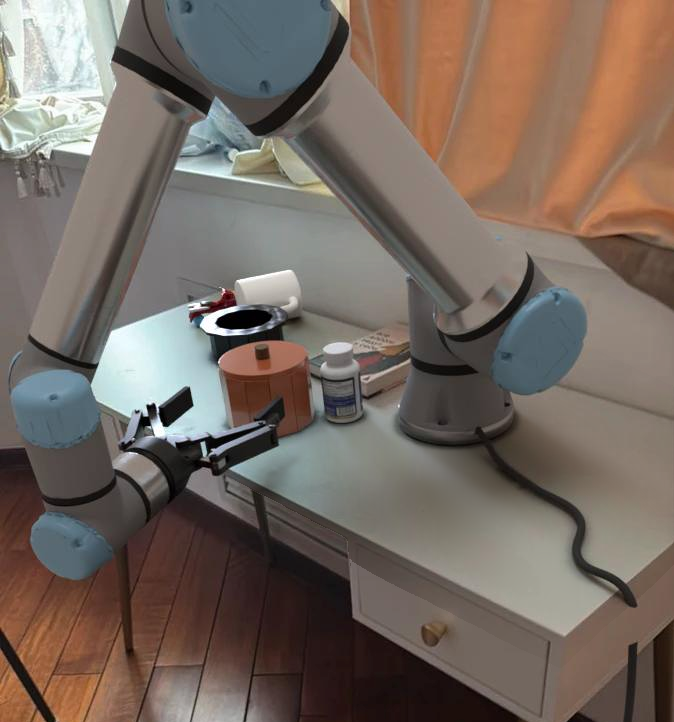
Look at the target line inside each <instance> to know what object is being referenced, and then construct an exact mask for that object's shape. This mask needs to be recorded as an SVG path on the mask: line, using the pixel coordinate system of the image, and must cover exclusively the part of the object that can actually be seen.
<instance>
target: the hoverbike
mask: <svg viewBox="0 0 674 722" xmlns="http://www.w3.org/2000/svg"><path fill="white" fill-rule="evenodd" d="M218 289H219V290H222V291H221V292H222V294H221V298H220V299H219V300H217V301H211V300H202V301H200V302H198V303H192V304H188V305H187V308H188V311H189V312H188V319H189V323H190V324H192V323H194V325H195V326H197V327H200V324H201V323H202V321H203V319H204V318H205V316H204V315H205V314H206V315H207V314H213V313H215V312H217V311H219V310H222V309H227V308H231V307H235V306H237V303H236V298H235V291H233V290H230V289H225V288H223V287H220V286H219V287H218Z"/></svg>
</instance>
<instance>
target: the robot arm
mask: <svg viewBox="0 0 674 722" xmlns="http://www.w3.org/2000/svg"><path fill="white" fill-rule="evenodd" d="M351 49H352V27H351V25H350V23H349V22H348V20H346V18H345V17H344V16H343V14H342V13H341V12H340V11H339V9H338V8H337V7H336V5H335V4H334V3H333V1H332V0H129V1H128V4H127V7H126V10H125V15H124V18H123V21H122V24H121V28H120V31H119V35H118V39H117V42H116V45H115V48H114V51H113V53H112V58H111V59H110V63H109V67H110V69H111V72H112V75H113V77H114V82H115V85H114V87H113V90H112V93H111V96H110V99H109V101H108V104H107V107H106V111H105V113H104V116H103V119H102V122H101V124H100V128H99V130H98V133H97V136H96V138H95V142H94V144H93V147H92V150H91V154H90V156H89V159H88V162H87V165H86V167H85V170H84V174H83V176H82V179H81V181H80V185H79V186H78V187H79V188H78V190H77V193H76V196H75V199H74V202H73V205H72V209H71V210H70V213H69V216H68V219H67V222H66V225H65V228H64V230H63V233H62V236H61V239H60V242H59V245H58V247H57V250H56V253H55V256H54V259H53V262H52V265H51V268H50V271H49V273H48V277H47V279H46V282H45V285H44V288H43V290H42V294H41V297H40V299H39V303H38V305H37V308H36V311H35V313H34V316H33V320H32V323H31V325H30V328H29V330H28V331H29V332H28V335H27V337H26V340H25V343H24V345H23V348H22V349H20V350H19V351H18V352H17V353H16V354H15V355H14V356H13V358H12V360H11V361H10V364H9V368H8V375H7V384H8V392H9V396H10V405H11V408H12V411H13V418H14V421H15V425H16V426H15V428H17V432H18V433H19V435H20V437H21V440H22V443H23V445H24V448H25V449H24V450H25V451H26V454H27V457H28V460H29V463H30V466H31V468H32V471H33V473H34V476H35V479H36V482H37V485H38V487H39V492H40V496H41V501H42V503H43V506H44V509H45V512H44V513H43V514H41V515H39V517H38V520H36V521H35V522H34V524H33V525H32V526H31V532H30V537H29V541H30V546H31V548H32V551H33V553H34V554H35V556H36V558H37V559H38V560H39V562H40V563H41V564H42V565H43V566H44V567H45V568H46V569H47V570H49V571H50V572H52V573H53V574H55V575H56V576H58V577H61V578H63V579H67V580H68V579H69V580H72V581H81V580H84V579H87V578H89V577H91V576H92V575H94V573H95V572H97V571H98V570H100V569H101V568H102V567H103V566H104V565H106V564H108V563H109V562H111V561H112V560H113V559H114V557H115V556H116V555H117V554H118V553H119V552H120V551H121V550H122V549H123V548H124V546H125V545H127V543H128V542H130V541H131V539H132V538H134V537H135V536H136V535H137V534H138V532H140V531H141V530H142V529H143V528H144V527H145V526H147V524H148V523H149V522H150V521H152V520H153V518H155V517H156V516H157V515H158V514H159V513H160V512H161V511H162V510H163V509H164V508H165V507H166V506H167V505H169V504H170V503H171V502H172V501H174V500H175V498H177V497H178V496H179V495H180V494H181V493H182V492H183V491H184V490H185V489H186V487H187V486H188V483H189V480H190V478H191V477H192V474H193V473H196V472H197V471H199V470H201V469H210V471H211V476H213V477H220V476H221V475H223V474H224V473H226V472H227V471H228V470H229V469H231V468H234V467H235V466H237V465H240V464H242V463H244V462H247V461H249V460H251V459H253V458H255V457H257V456H260V455H263V454H265V453H266V452H268V451H272V450H273V449H275V448H277V447H279V446H280V441H279V437H278V433H277V428H278V427H279V425H280V423H279V422H280V421H281V420H282V419H283V418H284V417H285V410H284V402H283V396H277V397H276V398H275V399H274V400H272V401H271V402H270V403H269V404H268V405H267V406H266V407H265V408H264V409H263V410H262V411H261V412H260V413H259V414H257V415H256V416H255V417H254V423H250V424H247V425H243V426H240V427H237V428H233V429H231V428H230V429H227V430H223V431H220V432H216V433H212V434H211V433H209V432H207V431H206V432H202V433H198V434H195V435H182V434H179V433H173V434H168V435H166V431H165V429H164V428H169V427H170V426H171V425H172V424H174V423H175V422H176V421H177V420H179V419H180V418H182V417H183V416H184V415H185V414H186V413H187V412H189V411H190V410H191V409H192V408H193V407H195V405H194V401H193V394H192V390H191V386H188V385H187V386H184V387H182V388H181V389H180V390H178V391H177V392H176V393H175V394H173V395H172V396H171V397H169V398H168V399H167V400H165V401H163V402H162V403H160V404H159V405H158V406H157V404H156V402H148V403H146V404H145V407H146V411H143V410H142V409H141V408H135V409H133V410H132V412H131V415H130V418H129V422H128V425H127V428H126V430H125V433H124V436H123V437H122V438H121V439H120V440H119V441H118V442H117V447H118V450H119V454H117V455H116V456H115V457H114V458H112V457H111V454H110V453H111V452H110V450H109V449H110V448H109V445H108V441H107V436H106V434H105V429H104V426H103V422H102V418H101V414H102V413H101V407H100V406H99V404H98V401H97V397H96V396H95V395H94V392H93V389H92V386H91V385H92V384H93V381H94V378H95V375H96V373H97V370H98V368H99V365H100V361H101V359H102V356H103V354H104V351H105V349H106V346H107V343H108V341H109V338H110V336H111V333H112V331H113V328H114V326H115V323H116V320H117V317H118V315H119V313H120V310H121V307H122V305H123V302H124V300H125V297H126V295H127V292H128V289H129V287H130V284H131V282H132V279H133V277H134V275H135V272H136V269H137V267H138V264H139V261H140V259H141V256H142V253H143V251H144V249H145V246H146V244H147V241H148V239H149V235H150V233H151V231H152V228H153V226H154V222H155V220H156V218H157V215H158V213H159V210H160V208H161V205H162V202H163V200H164V197H165V196H166V192H167V190H168V187H169V184H170V182H171V180H172V177H173V174H174V172H175V169H176V167H177V165H178V162H179V159H180V156H181V155H182V151H183V150H184V146H185V144H186V142H187V139H188V136H189V134H190V131H191V128H192V127H193V126H195V125H196V124H200V123H201V122H203V121H206V120H207V118H208V116H209V113H210V110H211V107H212V105H213V103H214V101H215V98H217V100H219V101H220V102H221V103H222V104H223V105H224V106H225V108H227V109H228V111H230V112H231V114H233V115H234V117H235V118H236V119H237V120H238V121H239V122H240V123H241V124H242V125H243V126H244V127H245V128H246V129H247V130H248V131H249V132H250V133H251V135H252V136H254V137H255V138H256V139H259V140H269V139H270V140H271V139H281V140H282V141H283V143H285V144H286V146H287V147H289V148H290V149H291V150H292V151H293V153H295V155H296V156H297V157H298V158H299V159H300V160H301V161H302V163H303V164H305V166H306V167H307V168H308V169H309V170H310V171H311V172H312V173H313V174H314V175H315V177H317V178H318V179H319V181H320V182H322V184H323V185H324V186H325V187H326V188H327V189H328V190H329V191H330V193H332V194H333V196H334V197H335V198H336V199H337V200H338V201H339V202H340V203H341V204H342V205H343V206H344V207H345V209H346V210H347V211H348V212H349V213H350V214H351V215H352V216H353V217H354V218H355V219H356V220H357V221H358V223H359V224H360V225H362V227H363V228H364V229H365V230H366V231H367V232H368V233H369V234H370V235H371V236H372V237H373V238H374V240H376V241H377V242H378V244H379V245H380V246H381V247H382V248H383V249H384V250H385V251H386V252H387V253H388V254H389V256H391V257H392V259H393V260H394V261H395V262H396V263H397V264H398V265H399V267H401V268H402V269H403V271H404V272H405V273H406V276H405V282H406V285H407V286H406V287H407V313H408V334H409V335H408V336H409V357H410V360H409V361H410V362H409V363H410V364H409V365H410V366H409V371H408V374H407V378H406V381H405V385H404V387H403V391H402V395H401V399H400V402H399V404H398V408H397V409H398V424H399V427H400V429H401V430H402V431H403V432H404V433H405V434H407V435H408V436H410V437H412V438H414V439H417V440H418V441H422V442H426V443H430V444H436V445H446V446H447V445H448V446H449V445H450V446H454V445H468V444H469V445H470V444H475V443H476V444H477V443H479V442H482V444H483V445H484V447H485V448H486V451H487V452H488V454H489V456H490V457H491V458H492V460H493V461H494V462H495V463H496V464H497V466H498V467H499V468H500V469H502V471H504V472H505V474H507V475H509V476H510V477H512V478H513V479H514V480H516V481H517V482H519V483H520V484H521V485H523V486H524V487H526V488H527V489H529V490H530V491H532V492H533V493H535V494H537V495H538V496H541V497H542V498H544V499H547V500H549V501H550V502H552V503H555V504H556V505H559V506H560V507H562V508H563V509H565V510H566V511H568V513H570V514H571V515H572V516H573V517H574V519H575V521H576V524H577V525H576V526H577V529H576V532H575V535H574V538H573V541H572V546H571V554H572V557H573V559H574V561H575V563H576V564H577V566H578V567H579V568H580V569H581V570H583V571H584V572H586V573H588V574H590V575H592V576H594V577H597V578H600V579H602V580H604V581H606V582H608V583H610V584H611V585H613V586H614V587H615V588H617V590H618V591H620V592H621V594H622V596H623V598H624V600H625V602H626V604H627V605H628V607H630V608H633V609H636V608H637V607H638V606H639V605H638V603H637V599H636V597H635V595H634V593H633V591H632V590H631V589H630V587H629V585H628V584H627V583H626V582H625V581H623V580H622V579H621V578H620V577H619V576H618V575H616V574H615V573H611V572H610V571H608V570H605V569H602V568H600V567H597V566H595V565H592V564H591V563H590V562H588V561H587V560H586V559H584V557H583V555H582V551H581V546H582V542H583V538H584V535H585V532H586V520H585V517H584V515H583V514H582V512H581V511H580V510H579V508H577V507H576V506H575V505H574V504H573V503H572V502H570V501H569V500H567V499H565V498H563V497H561V496H559V495H557V494H555V493H553V492H551V491H550V490H547V489H545V488H543V487H541V486H539V484H536V483H535V482H534V481H532V480H530V479H529V478H527V477H526V476H524V475H523V474H521V473H520V472H518V471H517V470H515V469H514V468H513V467H512V466H510V465H509V464H508V463H507V462H505V460H504V459H503V458H502V457H501V456H500V455H499V454H498V452H497V451H496V449H495V447H494V445H493V443H492V441H490V439H494V438H495V437H497V436H500V435H501V434H503V433H504V432H505V431H507V430H508V429H509V428H510V427H511V426H512V424H513V421H514V408H515V407H514V406H515V403H514V400H513V398H512V394H514V395H518V396H524V397H525V396H526V397H527V396H532V395H535V394H537V393H538V394H540V393H544V392H545V391H548V390H549V389H551V388H552V387H554V386H555V385H557V384H558V383H559V382H560V381H562V380H563V379H564V377H566V376H567V374H568V373H569V372H570V371H571V369H572V368H573V367H574V366H575V364H576V362H577V361H578V359H579V357H580V355H581V353H582V351H583V348H584V345H585V344H584V340H585V337H586V336H587V333H588V315H587V311H586V308H585V306H584V304H583V302H582V300H580V298H579V297H578V296H576V295H575V294H574V293H573V292H572V291H571V290H569V289H568V288H567V287H565V286H557V285H556V284H554V283H553V282H552V281H551V280H550V279H549V278H548V277H547V276H546V275H545V273H544V272H543V271H542V270H541V268H540V267H539V265H538V264H537V263H536V262H535V261H534V259H533V258H532V257H531V256H530V254H529V253H528V252H527V250H526V249H525V247H523V245H521V243H519V242H518V241H515V240H513V239H503V238H502V237H500V236H497V235H494V234H493V233H492V232H491V231H490V230H489V228H488V227H487V226H486V225H485V223H484V222H483V221H482V220H481V218H480V217H479V216H478V214H477V213H476V212H475V211H474V210H473V208H472V207H471V206H470V205H469V204H468V202H467V201H466V200H465V199H464V197H463V196H462V195H461V193H460V192H459V190H457V188H456V187H455V185H453V183H452V182H451V181H450V180H449V178H448V176H446V175H445V174H444V172H443V171H442V170H441V168H440V167H439V166H438V165H437V164H436V163H435V161H434V160H433V159H432V157H431V156H430V155H429V154H428V152H427V151H426V150H425V149H424V147H423V145H421V144H420V141H418V139H416V137H415V136H414V135H413V134H412V133H411V131H410V130H409V129H408V127H407V126H406V125H405V124H404V122H403V121H402V120H401V118H400V117H399V116H398V115H397V114H396V112H395V111H394V110H393V108H392V107H391V106H390V105H389V104H388V102H387V101H386V100H385V99H384V98H383V96H382V95H381V93H380V92H379V91H378V90H377V88H376V87H375V86H374V85H373V84H372V82H371V81H370V80H369V78H368V77H367V76H366V75H365V74H364V72H363V71H362V70H361V68H360V67H358V65H357V63H356V62H355V61H354V60H353V58H352V57H351V51H352V50H351ZM511 393H512V394H511ZM147 427H150V429H151V432H152V435H147V436H145V434H146V431H147ZM202 443H204V445H205V450H206V455H204V452H203V447H202ZM638 645H639V642H638V641H636V642H633V643H631V644H628V645H627V646H628V647H627V672H626V673H627V675H626V689H625V690H626V691H625V701H624V712H623V720H622V722H633V716H634V708H635V698H636V684H637V667H638V647H639V646H638Z"/></svg>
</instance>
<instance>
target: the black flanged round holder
mask: <svg viewBox="0 0 674 722" xmlns="http://www.w3.org/2000/svg"><path fill="white" fill-rule="evenodd" d="M287 318H288V313H287V312H286V311H285V310H283V309H282V308H281V307H277V306H271V305H265V304H255V305H240V306H235V307H231V308H227V309H222V310H219V311H217V312H215V313H210V314H209V315H206V316H204V319H203V321H202V323H201V324H200V326H199V329H200V330H201V332H203V333H204V334H205V335H206V336H208V337H209V341H210V347H211V352H212V358H213V360H214V361H215V362H217V364H219V360H220V358H221V357H222V356H223V355H224V354H225V353H227V352H228V351H230V350H232V349H234V348H237V347H239V346H242V345H246V344H250V343H255V342H262V341H285V339H284V332H283V326H284V325H286V323H287V320H288V319H287Z"/></svg>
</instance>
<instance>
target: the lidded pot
mask: <svg viewBox="0 0 674 722" xmlns="http://www.w3.org/2000/svg"><path fill="white" fill-rule="evenodd" d="M218 376H219V382H220V389H221V393H222V400H223V405H224V409H225V410H224V411H225V416H226V421H227V426H228V427H229V428H230V429H233V428H237V427H240V426H243V425H247V424H250V423H254V417H255V416H256V415H257V414H259V413H260V412H261V411H262V410H263V409H264V408H265V407H266V406H267V405H268V404H269V403H270V402H271V401H272V400H274V399H275V398H276V397H277V396H283V402H284V410H285V417H284V418H283V419H282V420H281V421H280V422H279V423H280V425H279V427H278V428H277V433H278V438H281V437H284V436H286V435H287V436H288V435H291V434H295V433H298V432H300V431H301V430H303V429H305V428H306V427H307V426H309V425H310V424H311V423H313V420H314V417H315V413H316V412H315V402H314V401H315V400H314V393H313V383H312V375H311V364H310V357H309V355H308V352H307V349H306V348H305V347H304V346H303V345H301V344H298V343H297V342H296V343H295V342H293V341H286V340H284V341H262V342H255V343H250V344H246V345H242V346H239V347H237V348H234V349H232V350H230V351H228V352H227V353H225V354H224V355H223V356H222V357H221V358H220V360H219V363H218Z"/></svg>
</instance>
